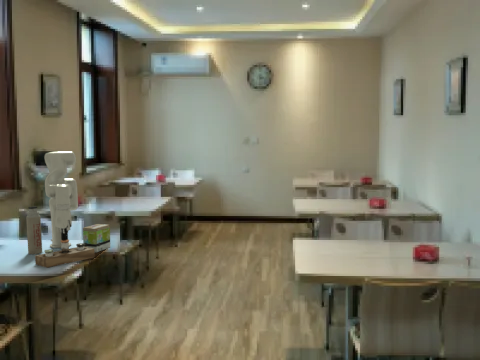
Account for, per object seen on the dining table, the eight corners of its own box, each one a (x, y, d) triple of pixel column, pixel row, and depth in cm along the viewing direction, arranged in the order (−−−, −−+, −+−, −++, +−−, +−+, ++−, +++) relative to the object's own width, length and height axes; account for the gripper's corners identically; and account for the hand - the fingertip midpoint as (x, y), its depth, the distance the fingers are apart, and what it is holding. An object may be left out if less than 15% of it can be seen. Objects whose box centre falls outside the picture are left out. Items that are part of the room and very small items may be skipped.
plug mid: (59, 253, 317) (58, 240, 316) (66, 251, 320) (66, 238, 319) (64, 254, 314) (63, 241, 313) (71, 252, 317) (70, 239, 316)
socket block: (35, 264, 310) (35, 255, 310) (82, 254, 333) (82, 246, 332) (47, 267, 302) (46, 258, 302) (94, 257, 325) (94, 248, 324)
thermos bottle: (44, 252, 338) (41, 206, 336) (30, 255, 333) (28, 208, 331) (39, 250, 345) (37, 205, 342) (26, 252, 339) (23, 206, 337)
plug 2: (75, 256, 325) (74, 244, 324) (82, 255, 328) (81, 242, 327) (79, 257, 322) (79, 245, 321) (86, 256, 325) (86, 243, 324)
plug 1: (43, 263, 310) (42, 250, 309) (51, 262, 313) (50, 249, 312) (48, 264, 307) (47, 251, 306) (55, 263, 310) (54, 250, 309)
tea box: (97, 252, 336) (96, 228, 335) (83, 251, 340) (82, 227, 338) (111, 247, 350) (110, 224, 349) (97, 246, 354) (96, 223, 352)
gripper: (49, 207, 316) (51, 239, 318) (64, 209, 307) (66, 242, 308) (61, 205, 322) (63, 237, 324) (76, 207, 312) (78, 240, 314)
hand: (64, 239), depth 316 cm, fingers closed
